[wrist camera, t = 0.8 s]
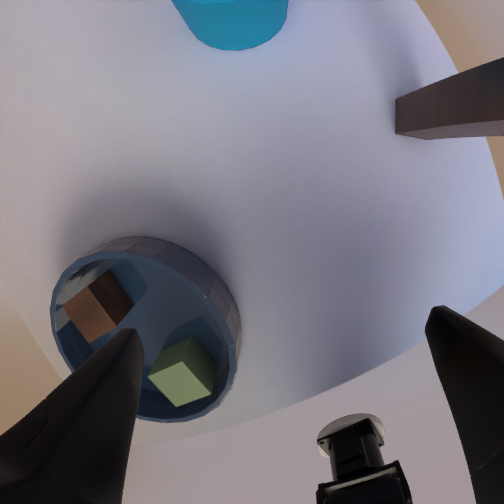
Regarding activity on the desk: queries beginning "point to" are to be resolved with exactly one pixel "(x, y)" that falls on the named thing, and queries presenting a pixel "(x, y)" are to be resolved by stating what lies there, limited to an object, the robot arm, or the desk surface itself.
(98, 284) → the walnut cube
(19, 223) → the desk surface
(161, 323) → the bowl
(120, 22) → the desk surface
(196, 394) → the sage cube
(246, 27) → the mug
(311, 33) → the desk surface
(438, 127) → the stick
